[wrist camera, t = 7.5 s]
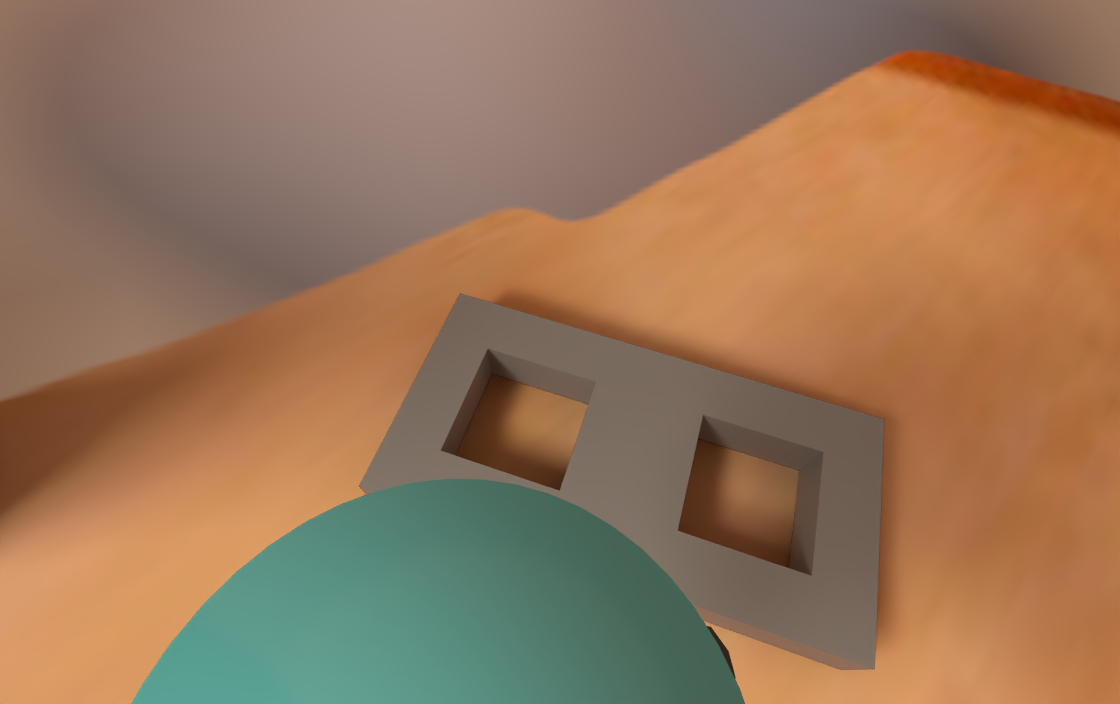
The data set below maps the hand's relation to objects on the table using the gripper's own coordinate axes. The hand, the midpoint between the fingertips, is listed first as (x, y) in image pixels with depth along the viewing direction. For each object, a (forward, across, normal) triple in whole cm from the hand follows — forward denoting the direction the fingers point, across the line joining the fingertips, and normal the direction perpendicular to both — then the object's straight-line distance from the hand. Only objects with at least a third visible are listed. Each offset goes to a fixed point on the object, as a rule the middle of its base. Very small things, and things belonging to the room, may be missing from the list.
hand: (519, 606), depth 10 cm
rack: (+19, -4, +6) cm, 21 cm away
